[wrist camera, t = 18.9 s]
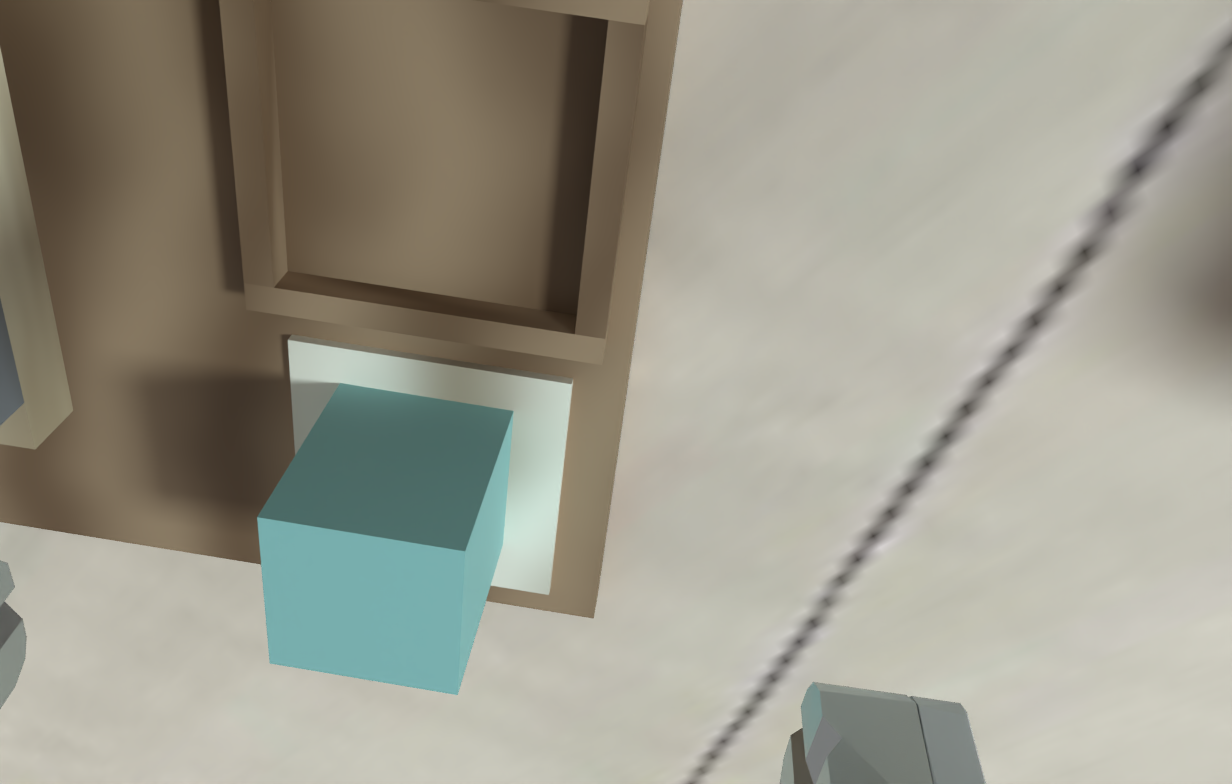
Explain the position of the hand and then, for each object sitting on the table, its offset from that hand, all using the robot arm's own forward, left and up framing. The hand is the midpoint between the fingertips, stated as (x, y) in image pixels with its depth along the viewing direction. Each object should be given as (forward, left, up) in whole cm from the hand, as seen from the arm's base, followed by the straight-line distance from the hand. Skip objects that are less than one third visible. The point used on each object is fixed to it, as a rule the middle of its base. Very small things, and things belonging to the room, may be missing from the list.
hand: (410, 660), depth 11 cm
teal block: (-4, -11, -17) cm, 21 cm away
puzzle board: (-9, -4, -18) cm, 21 cm away
